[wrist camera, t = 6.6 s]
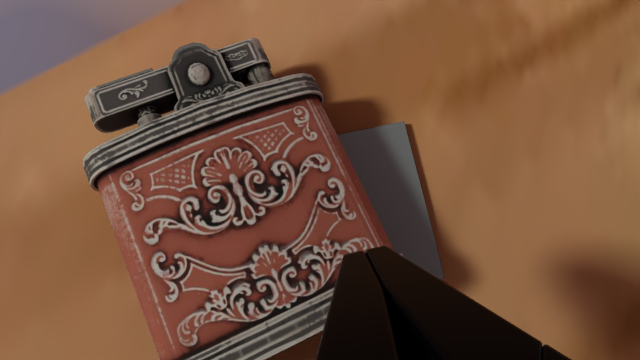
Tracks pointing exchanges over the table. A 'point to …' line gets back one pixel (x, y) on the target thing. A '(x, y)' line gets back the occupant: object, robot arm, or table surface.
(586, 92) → the table surface
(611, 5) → the table surface
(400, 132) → the pad
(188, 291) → the lighter
